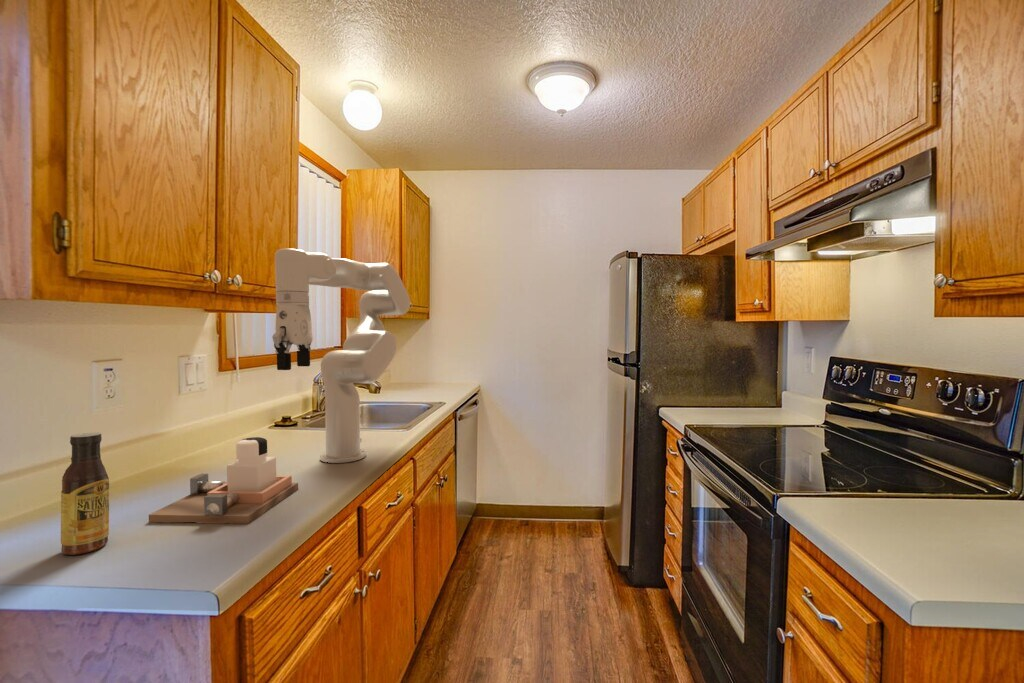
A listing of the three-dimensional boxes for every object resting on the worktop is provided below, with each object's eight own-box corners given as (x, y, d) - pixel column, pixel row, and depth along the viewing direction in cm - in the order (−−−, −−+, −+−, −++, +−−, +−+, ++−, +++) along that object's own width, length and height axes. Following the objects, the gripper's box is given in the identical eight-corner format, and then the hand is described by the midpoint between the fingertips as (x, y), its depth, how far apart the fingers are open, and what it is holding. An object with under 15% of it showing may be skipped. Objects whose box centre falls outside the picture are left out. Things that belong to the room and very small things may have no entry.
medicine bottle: (247, 486, 110) (246, 435, 110) (277, 487, 109) (276, 435, 109) (227, 497, 103) (225, 442, 102) (258, 498, 102) (257, 443, 102)
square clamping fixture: (216, 488, 113) (215, 466, 113) (298, 488, 113) (297, 467, 112) (148, 522, 93) (148, 496, 93) (247, 523, 93) (247, 497, 92)
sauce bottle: (80, 559, 79) (76, 440, 78) (50, 555, 80) (47, 438, 79) (120, 541, 85) (117, 431, 85) (92, 538, 86) (89, 430, 86)
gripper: (289, 297, 109) (291, 371, 110) (322, 301, 127) (324, 365, 127) (258, 297, 110) (259, 371, 110) (295, 301, 127) (296, 365, 128)
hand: (294, 368), depth 119 cm, fingers open, 9 cm apart
